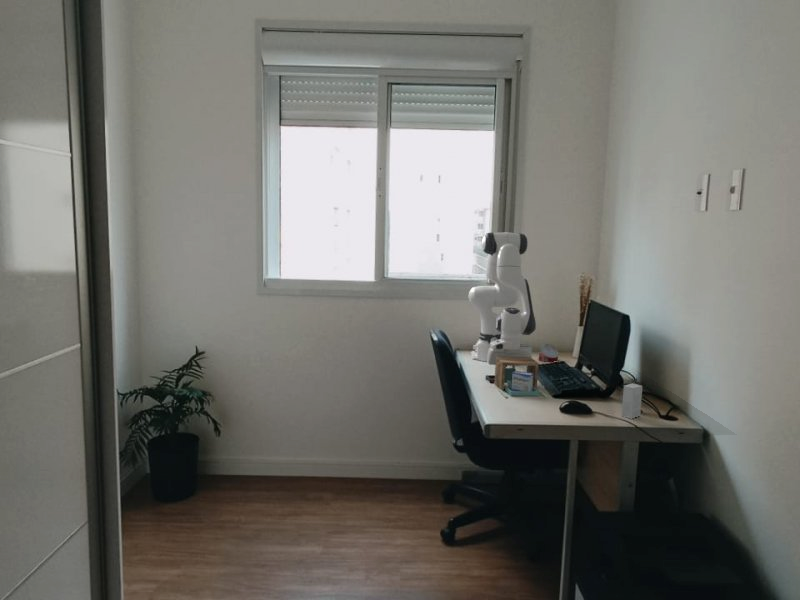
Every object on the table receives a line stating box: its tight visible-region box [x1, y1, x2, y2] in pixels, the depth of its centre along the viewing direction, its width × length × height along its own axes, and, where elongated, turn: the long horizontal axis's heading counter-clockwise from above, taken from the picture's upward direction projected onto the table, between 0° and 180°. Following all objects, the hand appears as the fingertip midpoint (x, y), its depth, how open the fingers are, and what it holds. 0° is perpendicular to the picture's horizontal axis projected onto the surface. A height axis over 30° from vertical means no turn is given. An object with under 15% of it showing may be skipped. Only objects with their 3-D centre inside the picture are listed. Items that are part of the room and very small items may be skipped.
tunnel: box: [493, 357, 539, 392], centre depth 236 cm, size 10×16×12 cm, turn 96°
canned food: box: [538, 343, 560, 363], centre depth 287 cm, size 11×10×10 cm
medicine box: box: [511, 370, 533, 392], centre depth 228 cm, size 8×4×9 cm, turn 62°
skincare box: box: [621, 383, 643, 419], centre depth 202 cm, size 6×4×12 cm
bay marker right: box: [537, 388, 549, 399], centre depth 228 cm, size 10×1×1 cm, turn 7°
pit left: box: [485, 374, 495, 384], centre depth 246 cm, size 7×5×2 cm
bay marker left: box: [498, 388, 509, 399], centre depth 226 cm, size 10×1×1 cm, turn 6°
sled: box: [504, 367, 540, 397], centre depth 234 cm, size 22×12×6 cm, turn 6°
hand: (508, 373), depth 246 cm, fingers closed, pressing on sled
